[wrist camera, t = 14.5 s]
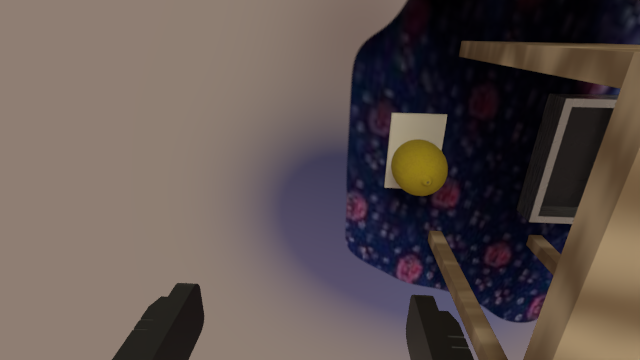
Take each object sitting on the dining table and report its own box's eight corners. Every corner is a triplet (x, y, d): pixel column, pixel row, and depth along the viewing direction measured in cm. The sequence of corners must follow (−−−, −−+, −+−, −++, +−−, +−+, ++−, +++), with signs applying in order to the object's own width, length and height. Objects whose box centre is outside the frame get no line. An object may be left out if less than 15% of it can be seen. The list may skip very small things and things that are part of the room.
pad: (391, 112, 38) (392, 113, 37) (446, 114, 38) (447, 114, 37) (384, 186, 41) (384, 187, 41) (434, 188, 41) (434, 189, 41)
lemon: (414, 184, 41) (430, 218, 33) (377, 160, 40) (385, 189, 32) (445, 148, 39) (471, 175, 31) (407, 121, 38) (424, 143, 30)
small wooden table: (461, 40, 35) (677, 55, 13) (603, 43, 34) (1089, 63, 12) (427, 240, 44) (516, 447, 22) (538, 245, 44) (742, 462, 22)
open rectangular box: (548, 93, 36) (566, 98, 33) (633, 95, 36) (657, 100, 33) (516, 209, 42) (528, 222, 39) (589, 212, 41) (607, 225, 39)
